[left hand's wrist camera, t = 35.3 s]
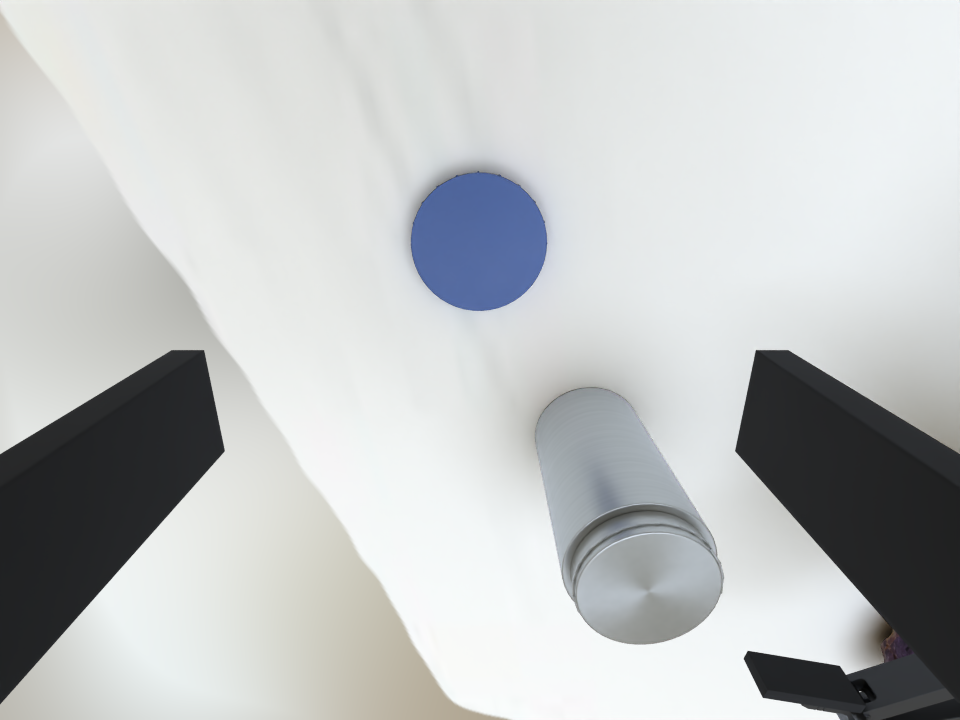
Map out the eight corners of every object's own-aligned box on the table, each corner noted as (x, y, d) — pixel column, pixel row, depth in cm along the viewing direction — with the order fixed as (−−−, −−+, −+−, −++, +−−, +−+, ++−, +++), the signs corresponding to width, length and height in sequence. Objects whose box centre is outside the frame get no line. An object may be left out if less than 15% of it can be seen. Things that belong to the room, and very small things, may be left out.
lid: (551, 293, 40) (554, 299, 38) (428, 313, 41) (425, 320, 39) (535, 160, 37) (538, 160, 35) (401, 184, 37) (397, 186, 36)
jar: (568, 495, 47) (615, 672, 31) (515, 422, 44) (535, 574, 28) (657, 447, 45) (758, 608, 29) (607, 367, 43) (687, 496, 26)
